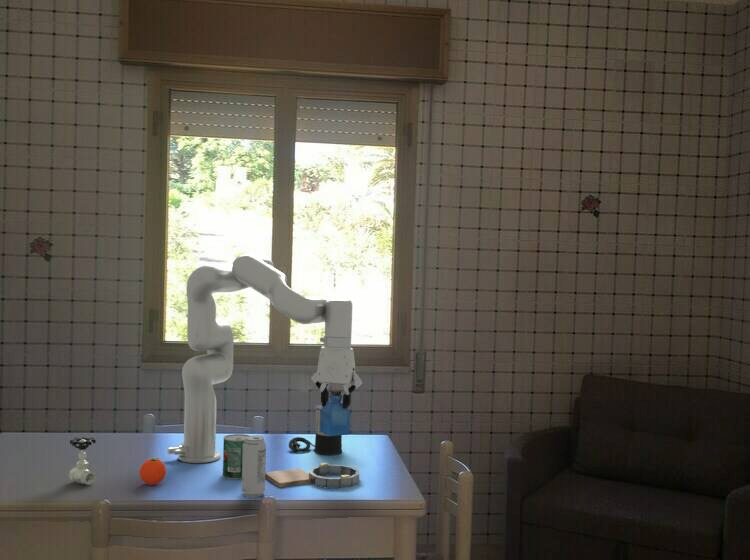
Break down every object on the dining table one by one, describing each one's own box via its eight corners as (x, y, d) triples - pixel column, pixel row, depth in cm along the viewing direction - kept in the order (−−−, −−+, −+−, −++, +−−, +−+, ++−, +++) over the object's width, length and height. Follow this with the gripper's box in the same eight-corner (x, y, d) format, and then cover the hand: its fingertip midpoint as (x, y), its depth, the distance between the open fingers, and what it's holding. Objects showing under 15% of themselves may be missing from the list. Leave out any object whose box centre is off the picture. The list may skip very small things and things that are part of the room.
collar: (323, 490, 201) (323, 479, 201) (301, 476, 214) (301, 466, 213) (368, 484, 208) (368, 473, 208) (344, 471, 221) (344, 460, 221)
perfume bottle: (329, 436, 207) (330, 393, 206) (319, 431, 212) (321, 389, 212) (349, 434, 210) (350, 391, 209) (339, 429, 215) (341, 388, 215)
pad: (279, 487, 203) (279, 483, 203) (264, 476, 213) (264, 472, 213) (315, 482, 209) (315, 478, 209) (299, 472, 218) (299, 468, 218)
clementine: (145, 479, 207) (146, 453, 207) (170, 480, 207) (170, 454, 207) (135, 487, 199) (136, 461, 199) (161, 488, 199) (161, 462, 199)
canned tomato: (220, 472, 215) (220, 435, 215) (246, 470, 218) (247, 433, 218) (225, 480, 208) (226, 441, 208) (253, 478, 211) (254, 439, 211)
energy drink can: (247, 489, 200) (249, 434, 200) (268, 492, 199) (270, 436, 198) (237, 496, 195) (238, 439, 194) (258, 499, 193) (260, 441, 192)
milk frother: (347, 453, 241) (349, 407, 241) (304, 459, 232) (305, 412, 232) (325, 443, 253) (326, 400, 252) (283, 449, 244) (285, 404, 244)
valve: (79, 489, 197) (80, 443, 197) (63, 484, 200) (64, 440, 200) (100, 483, 202) (101, 439, 202) (84, 478, 206) (85, 435, 206)
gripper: (304, 341, 209) (302, 405, 210) (361, 346, 204) (359, 412, 204) (315, 339, 216) (313, 401, 217) (371, 343, 211) (368, 407, 211)
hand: (335, 406), depth 211 cm, fingers closed on perfume bottle, 5 cm apart
